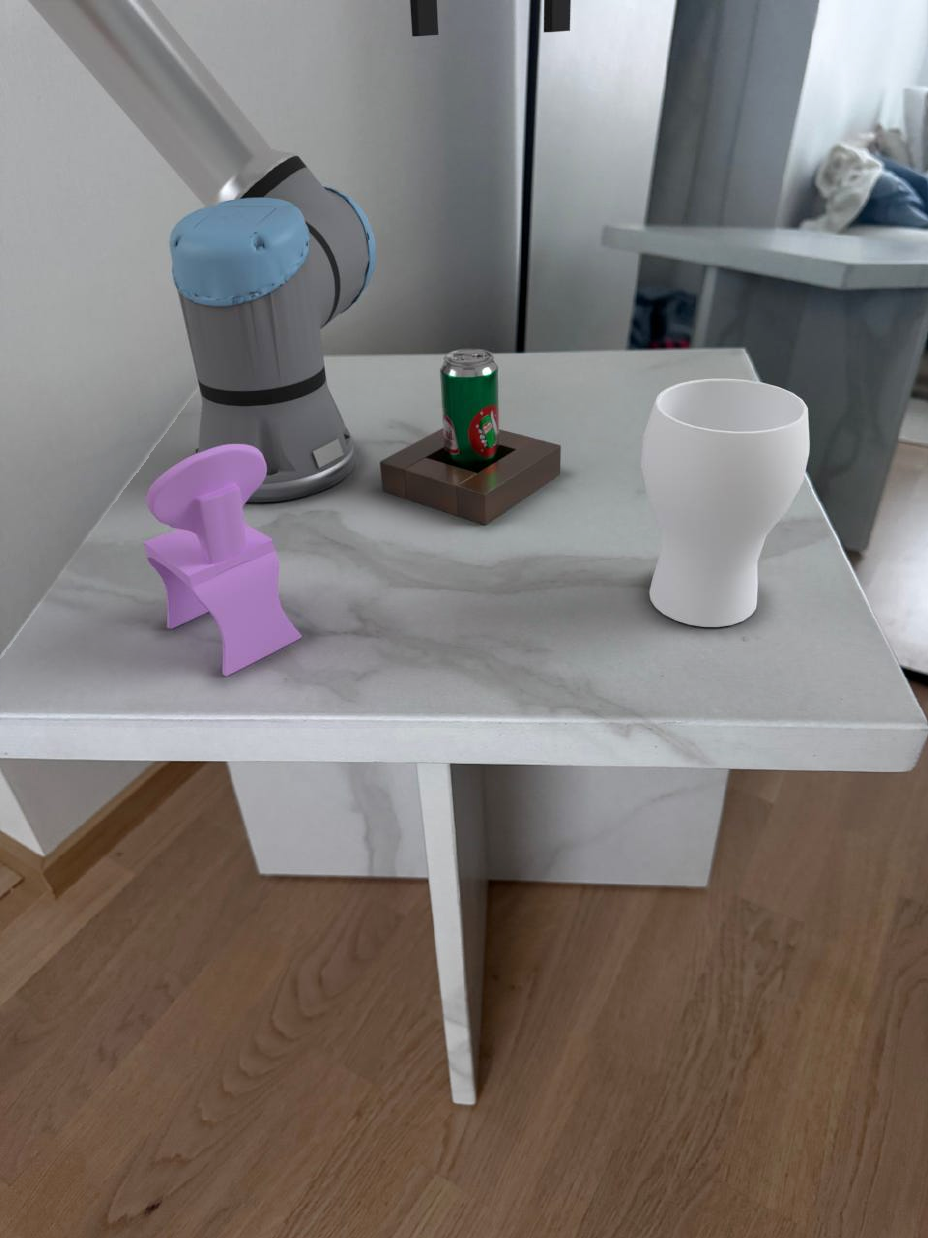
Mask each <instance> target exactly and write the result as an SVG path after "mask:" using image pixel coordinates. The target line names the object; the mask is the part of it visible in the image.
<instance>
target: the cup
mask: <svg viewBox="0 0 928 1238" xmlns="http://www.w3.org/2000/svg"><path fill="white" fill-rule="evenodd" d="M809 423H810V422H809V408H808V405H807V404H806V403H805V401H804V400H803V399H802V398H800V397H799V396H798V395H796V394H795V393H794V392H792V391H789V390H787V389H785V388H782V387H780V386H777V385H772V384H769V383H765V382H761V381H755V380H749V379H737V378H705V379H695V380H689V381H685V382H679V383H676V384H674V385H671V386H669V387H667V388H665V389H664V390H662V391H661V392H660V393H658V394H657V396H656V398H655V401H654V403H653V406H652V409H651V412H650V415H649V418H648V421H647V424H646V427H645V431H644V433H643V436H642V445H641V457H640V467H641V472H642V476H643V483H644V485H645V490H646V495H647V500H648V503H649V505H650V507H651V509H652V512H653V513H654V516H655V518H656V520H657V522H658V524H659V546H660V548H659V549H660V553H659V556H658V560H657V563H656V566H655V569H654V573H653V576H652V579H651V584H650V587H649V592H648V593H649V599H650V601H651V603H652V604H653V606H654V608H656V610H657V611H659V612H660V613H662V614H663V615H664V616H666V617H668V618H670V619H672V620H673V621H677V622H680V623H683V624H685V625H689V626H696V627H703V628H720V627H727V626H733V625H736V624H739V623H741V622H743V621H746V620H747V619H748V618H750V617H751V616H752V615H753V613H754V612H755V611H756V609H757V604H758V590H759V582H758V579H759V578H758V575H759V574H758V561H759V559H760V556H761V553H762V550H763V547H764V544H765V541H766V539H767V535H768V534H769V533H770V532H771V531H772V530H773V528H775V526H777V524H778V522H779V521H780V520H781V519H782V518H783V517H784V515H785V514H786V513H787V511H788V510H789V508H790V507H791V505H792V503H793V501H794V499H795V498H796V496H797V494H798V492H799V491H800V488H801V487H802V485H803V483H804V480H805V476H806V470H807V466H808V461H809V457H810V449H811V447H810V446H811V441H810V424H809Z"/></svg>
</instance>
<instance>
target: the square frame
mask: <svg viewBox="0 0 928 1238" xmlns="http://www.w3.org/2000/svg"><path fill="white" fill-rule="evenodd" d="M561 456H562V445H561V444H557V443H554V442H550V441H546V440H543V439H539V438H534V437H531V436H527V435H523V434H519V433H516V432H511V431H509V430H504V429H500V428H499V460H498V461H497V462H495V463H494V464H492V465H490V466H489V467H487V468H485V469H484V470H482V471H480V472H479V473H475V472H472V471H468V470H465V469H461V468H458V467H455V466H451V465H448V464H445V454H444V435H443V427H442V428H440V429H437V430H436V431H434V432H432V433H430V434H429V435H427V436H425V437H423V438H421V439H420V440H417V441H415V442H414V443H412V444H410V445H408V446H406V447H404V448H402V449H400V450H399V451H397V452H395V453H393V454H391V455H390V456H388V457H385V458H383V459H382V460H380V461H379V469H380V478H381V479H380V480H381V488H382V491H383V492H385V493H388V494H391V495H394V496H398V497H400V498H404V499H407V500H409V501H412V502H414V503H418V504H421V505H425V506H427V507H430V508H433V509H436V510H439V511H441V512H445V513H447V514H451V515H454V516H457V517H460V518H463V519H466V520H468V521H471V522H475V523H478V524H480V525H484V526H487V525H488V524H490V523H491V522H492V521H494V520H496V519H497V518H498V517H500V516H502V515H503V514H505V512H507V511H509V510H510V509H512V508H513V507H514V506H516V505H517V504H519V503H520V502H522V501H523V500H525V499H526V498H528V497H529V496H531V495H532V494H533V493H535V492H536V491H538V490H539V489H541V488H542V487H544V486H545V485H547V484H548V483H550V482H551V481H553V480H554V479H556V478H557V477H558V476H560V475H561V459H562V457H561Z"/></svg>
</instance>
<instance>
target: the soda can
mask: <svg viewBox="0 0 928 1238" xmlns="http://www.w3.org/2000/svg"><path fill="white" fill-rule="evenodd" d="M494 358H495V357H494V353H492V352H491V351H489V350H486V349H483V348H482V349H481V348H461V349H456V350H452V351H449V352H447V353H445V355H443V363H442V365H441V367H440V369H439V376H440V378H439V379H440V396H441V397H440V398H441V413H442V415H441V417H442V428H443V435H444V454H445V464H448V465H451V466H455V467H458V468H461V469H465V470H468V471H472V472H475V473H479V472H480V471H482V470H484V469H485V468H487V467H489V466H490V465H492V464H494V463H495V462H497V461H498V460H499V429H500V424H499V423H500V414H499V413H500V412H499V409H500V408H499V407H500V406H499V404H500V403H499V402H500V401H499V366H498V365H497V363H496V362H495V360H494Z"/></svg>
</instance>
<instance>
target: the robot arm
mask: <svg viewBox="0 0 928 1238" xmlns="http://www.w3.org/2000/svg"><path fill="white" fill-rule="evenodd" d="M27 1H28V3H29V4H30V5H31V6H32V7H33V8H34V10H36V12H37V13H38V14H39V15H40V17H41V18H42V19H43V20H44V21H45V22H46V23H47V25H48V26H49V27H50V28H51V29H52V31H53V32H54V33H55V34H56V35H57V36H58V37H59V38H60V40H61V41H62V42H63V43H64V44H65V45H66V47H67V48H68V49H69V51H71V52H72V54H73V55H74V56H75V57H76V58H77V60H79V62H80V63H81V64H82V65H83V67H84V68H85V69H86V70H87V71H88V72H89V74H90V75H91V76H92V77H93V78H94V80H95V81H96V82H97V83H98V84H99V85H100V86H101V87H102V88H103V90H104V91H105V92H106V93H107V94H108V96H110V98H111V99H112V100H113V101H114V103H115V104H116V105H117V106H118V107H119V108H120V110H121V111H122V112H123V113H124V114H125V115H126V117H128V119H129V120H130V121H131V122H132V123H133V124H134V126H135V127H136V128H137V129H138V131H140V133H141V134H142V135H143V136H144V137H145V139H146V140H147V141H148V142H149V143H150V145H152V147H153V148H154V149H155V150H156V151H157V153H158V154H159V155H160V156H161V157H162V158H163V159H164V160H165V161H166V163H167V164H168V165H169V166H170V168H171V169H172V170H173V171H174V172H175V173H176V175H177V176H178V177H179V178H180V179H181V180H182V181H183V183H184V184H185V185H186V186H187V187H188V189H189V190H190V191H191V192H192V193H193V194H194V196H195V197H196V198H197V199H198V200H199V201H200V202H201V204H202V205H203V206H204V207H201V208H199V209H196V210H194V211H192V212H190V213H188V214H186V215H185V216H183V217H182V218H181V219H180V220H178V221H177V222H176V223H175V225H174V227H173V228H172V230H171V232H170V235H169V251H170V257H171V264H172V265H171V273H172V281H173V283H174V287H175V288H176V290H177V295H178V299H179V304H180V308H181V312H182V317H183V321H184V325H185V330H186V334H187V338H188V343H189V346H190V347H189V348H190V352H191V356H192V361H193V365H194V369H195V374H196V378H197V382H198V388H199V390H200V391H199V392H200V397H201V413H200V422H199V432H198V448H196V449H195V454H197V453H200V452H203V451H206V450H208V449H211V448H214V447H217V446H221V445H227V444H246V445H250V446H253V447H255V448H257V449H258V450H259V451H260V452H261V453H262V455H263V457H264V459H265V462H266V466H267V473H266V477H265V479H264V481H263V483H262V484H261V485H260V487H259V488H258V489H257V490H256V491H255V492H254V493H253V494H252V495H251V496H250V498H249V499H248V500H247V502H246V503H271V502H282V501H288V500H294V499H298V498H303V497H307V496H310V495H313V494H317V493H319V492H322V491H324V490H326V489H329V488H331V487H333V486H335V485H336V484H338V483H339V482H341V481H343V480H344V479H345V478H346V477H347V476H348V475H350V474H351V472H352V471H353V470H354V468H355V465H356V461H357V459H356V452H355V444H354V439H353V437H352V435H351V433H350V431H349V430H348V428H347V426H346V424H345V421H344V419H343V416H342V414H341V412H340V410H339V408H338V405H337V403H336V401H335V399H334V397H333V395H332V393H331V391H330V388H329V386H328V382H327V381H328V380H327V375H326V368H325V359H324V358H325V357H324V351H323V343H322V342H323V341H322V334H321V330H322V329H323V328H324V327H325V326H327V325H328V324H329V323H331V322H332V321H333V320H334V319H335V318H337V317H338V316H340V315H342V314H343V313H346V312H347V311H348V310H349V309H350V308H351V307H352V306H353V305H354V304H355V303H357V301H358V300H359V299H360V298H361V296H362V295H363V293H364V291H366V289H367V288H368V285H369V284H370V282H371V279H372V278H373V277H372V276H373V275H374V271H375V267H376V259H377V246H376V239H375V234H374V230H373V228H372V225H371V222H370V220H369V219H368V217H367V215H366V213H365V212H364V210H363V209H362V208H361V206H360V205H359V204H358V202H356V201H355V200H354V199H353V198H352V197H350V196H349V195H348V194H346V193H344V192H343V191H341V190H339V189H336V188H333V187H329V186H325V185H322V183H321V182H320V181H319V180H318V178H317V177H316V176H315V175H314V173H313V172H312V171H311V169H310V168H309V167H308V166H307V165H306V163H304V161H303V160H302V158H301V157H300V156H299V155H298V154H297V153H296V152H293V151H292V152H291V151H284V150H283V151H282V150H276V149H274V148H272V146H271V145H270V144H269V143H268V141H267V140H266V139H265V138H264V137H263V136H262V134H261V133H260V132H259V131H258V129H257V128H256V127H255V125H254V124H253V122H252V121H250V120H249V118H248V117H247V116H246V114H245V113H244V112H243V111H242V110H241V108H240V107H239V106H238V105H237V103H236V102H235V101H234V99H232V97H231V96H230V95H229V94H228V92H227V91H226V89H224V87H223V86H222V85H221V84H220V83H219V82H218V80H217V79H216V78H215V77H214V74H212V73H211V72H210V70H209V68H207V66H206V65H205V64H204V63H203V61H202V60H201V59H200V58H199V56H198V55H197V54H196V53H195V52H194V50H193V48H191V46H189V44H188V43H187V42H186V40H185V39H184V38H183V37H182V35H181V34H180V33H179V32H178V31H177V29H175V27H174V26H173V25H172V24H171V22H170V21H169V19H167V17H166V16H165V15H164V14H163V12H162V11H161V10H160V8H159V7H158V6H157V5H156V4H155V2H154V1H153V0H27ZM409 6H410V22H411V23H410V24H411V37H430V36H438V35H439V20H438V19H439V18H438V0H409ZM571 9H572V0H543V33H560V32H570V31H571V11H572V10H571Z"/></svg>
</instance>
